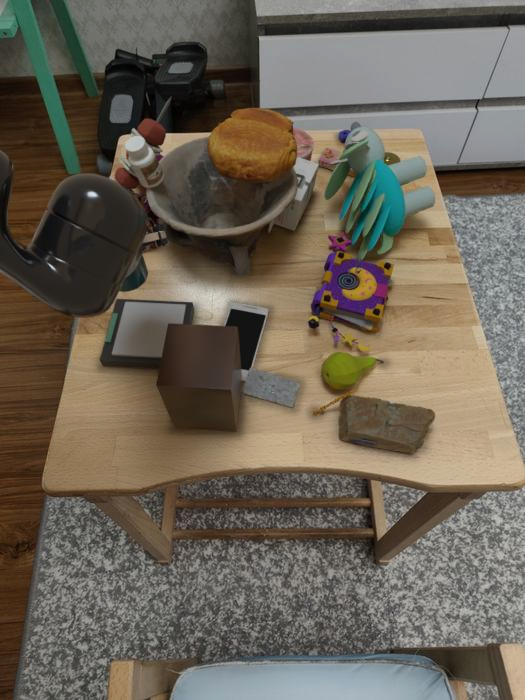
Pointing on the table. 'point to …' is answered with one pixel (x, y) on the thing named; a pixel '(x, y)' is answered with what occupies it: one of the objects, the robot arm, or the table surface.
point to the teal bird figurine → (377, 189)
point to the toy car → (145, 205)
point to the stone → (383, 423)
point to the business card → (271, 387)
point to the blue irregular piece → (343, 135)
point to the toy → (331, 156)
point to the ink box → (298, 195)
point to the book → (351, 291)
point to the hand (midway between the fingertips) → (117, 247)
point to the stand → (201, 376)
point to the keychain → (332, 402)
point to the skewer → (154, 139)
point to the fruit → (345, 369)
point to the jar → (135, 277)
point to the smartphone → (247, 331)
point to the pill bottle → (144, 162)
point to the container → (303, 144)
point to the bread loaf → (253, 146)
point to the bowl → (215, 206)
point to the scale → (141, 331)
